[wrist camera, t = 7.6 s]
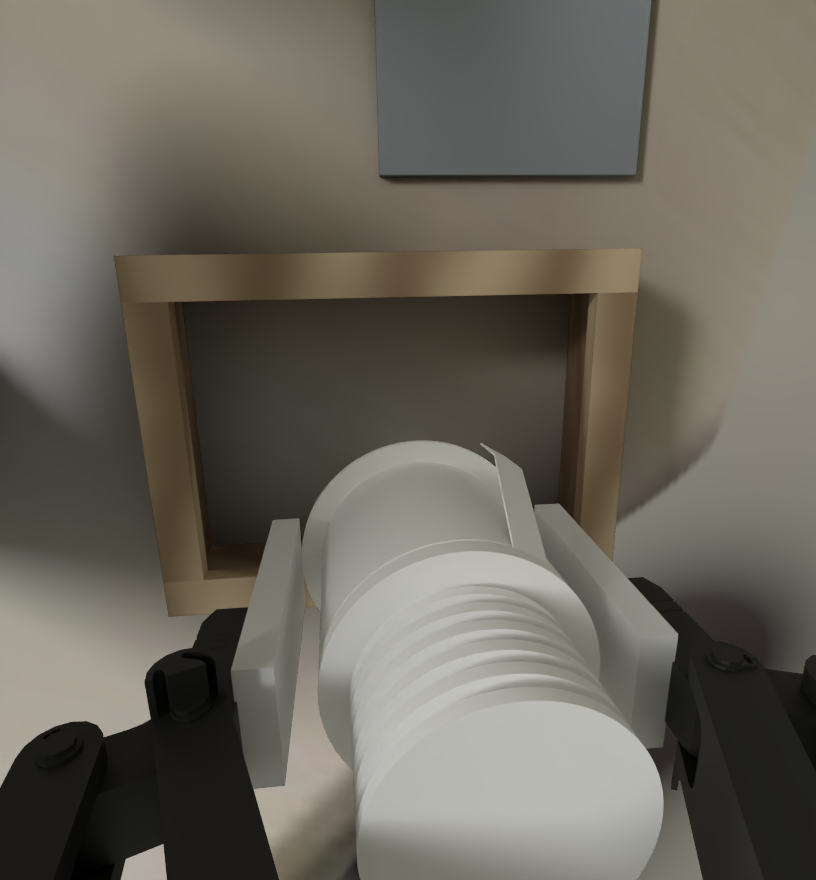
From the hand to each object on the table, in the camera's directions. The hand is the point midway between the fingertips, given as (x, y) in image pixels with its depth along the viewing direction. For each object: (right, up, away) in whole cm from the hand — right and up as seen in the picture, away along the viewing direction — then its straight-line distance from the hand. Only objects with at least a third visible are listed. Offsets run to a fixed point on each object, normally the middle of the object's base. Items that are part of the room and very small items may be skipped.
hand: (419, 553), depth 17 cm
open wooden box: (-2, +5, +17) cm, 18 cm away
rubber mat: (+5, +23, +12) cm, 27 cm away
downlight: (0, 0, +1) cm, 1 cm away
